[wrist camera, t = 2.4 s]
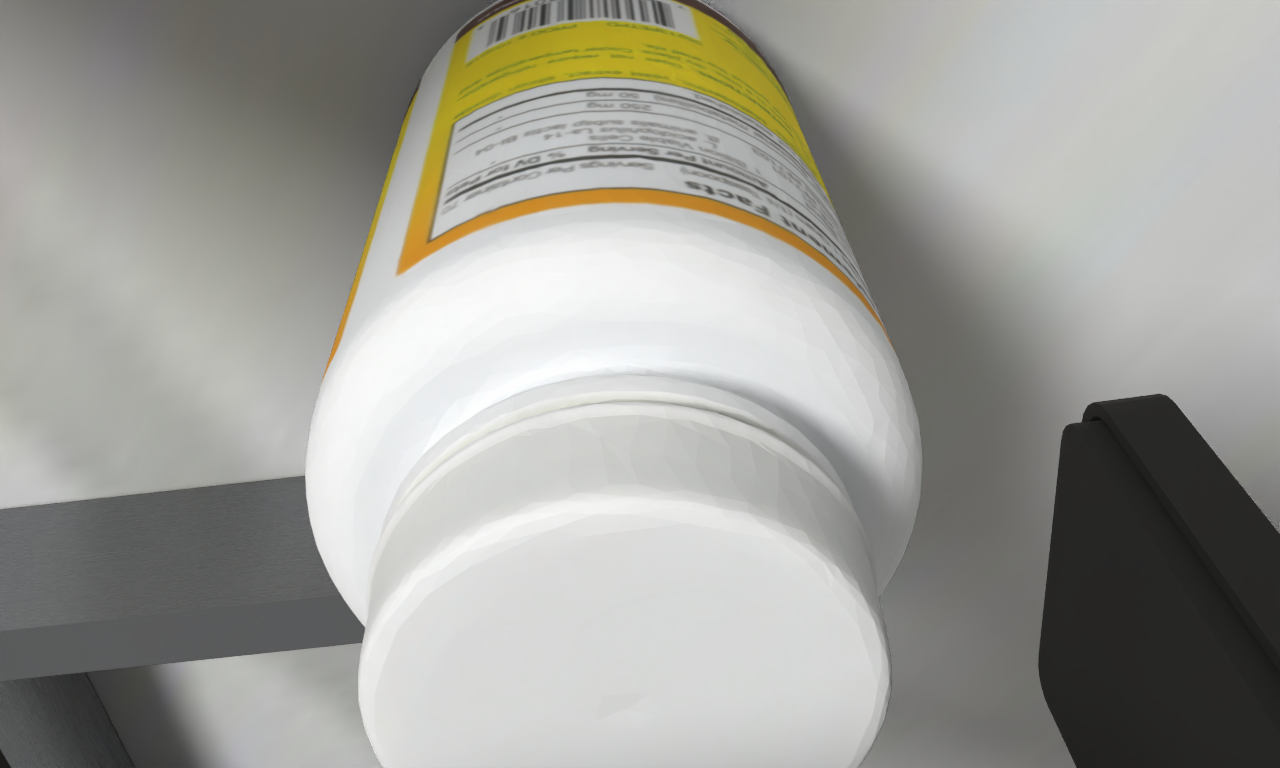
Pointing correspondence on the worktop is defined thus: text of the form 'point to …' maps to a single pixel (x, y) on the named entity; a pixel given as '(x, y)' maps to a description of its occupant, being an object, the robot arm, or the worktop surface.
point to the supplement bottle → (612, 414)
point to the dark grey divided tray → (148, 602)
